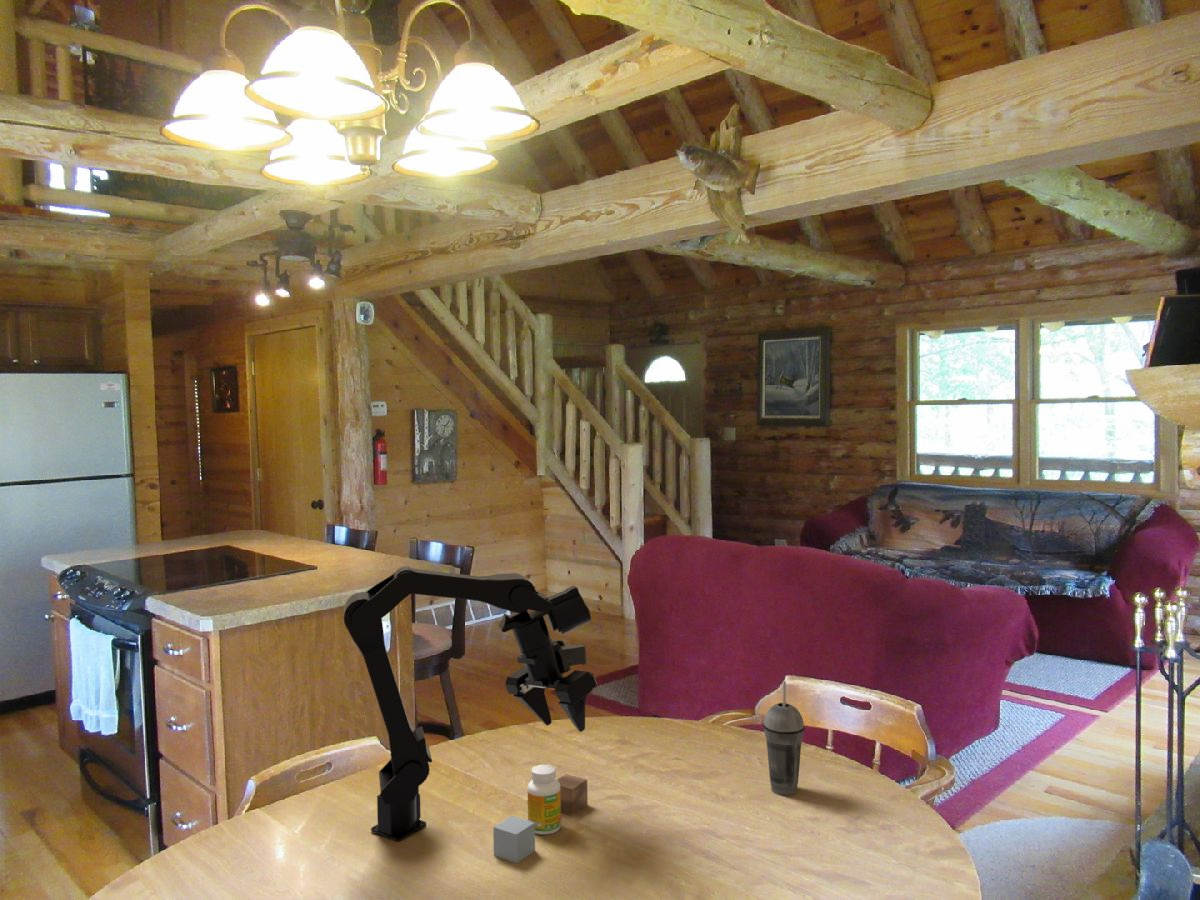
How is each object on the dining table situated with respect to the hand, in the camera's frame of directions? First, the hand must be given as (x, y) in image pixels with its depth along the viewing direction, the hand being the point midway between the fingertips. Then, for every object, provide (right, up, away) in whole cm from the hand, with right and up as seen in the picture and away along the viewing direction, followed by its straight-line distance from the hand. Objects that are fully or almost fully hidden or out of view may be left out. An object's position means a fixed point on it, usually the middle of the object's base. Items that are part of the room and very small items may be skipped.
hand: (565, 727), depth 148 cm
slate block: (-7, -14, -16) cm, 22 cm away
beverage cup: (+39, -13, +5) cm, 42 cm away
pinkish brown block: (+1, -14, 0) cm, 14 cm away
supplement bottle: (-3, -14, -8) cm, 16 cm away
